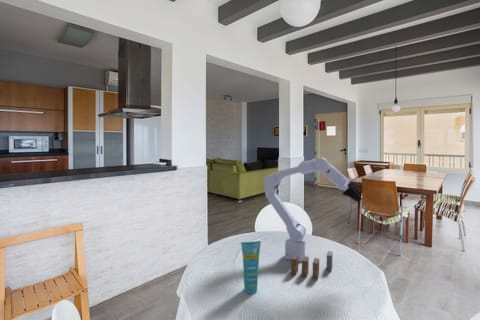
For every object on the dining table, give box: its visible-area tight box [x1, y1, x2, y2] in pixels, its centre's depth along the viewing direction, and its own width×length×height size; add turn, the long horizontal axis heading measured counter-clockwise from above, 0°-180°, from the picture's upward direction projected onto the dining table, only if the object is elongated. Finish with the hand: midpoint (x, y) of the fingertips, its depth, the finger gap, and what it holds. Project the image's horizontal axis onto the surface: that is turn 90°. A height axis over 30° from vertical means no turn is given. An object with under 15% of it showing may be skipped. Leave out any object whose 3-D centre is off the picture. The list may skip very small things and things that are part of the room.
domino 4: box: [326, 250, 334, 272], centre depth 114 cm, size 2×5×7 cm, turn 155°
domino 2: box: [301, 255, 310, 279], centre depth 109 cm, size 2×5×7 cm, turn 155°
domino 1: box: [290, 254, 299, 276], centre depth 111 cm, size 2×5×7 cm, turn 155°
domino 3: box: [312, 257, 320, 281], centre depth 107 cm, size 2×5×7 cm, turn 155°
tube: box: [240, 240, 261, 295], centre depth 96 cm, size 7×5×19 cm, turn 103°
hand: (360, 198), depth 112 cm, fingers open, 7 cm apart
